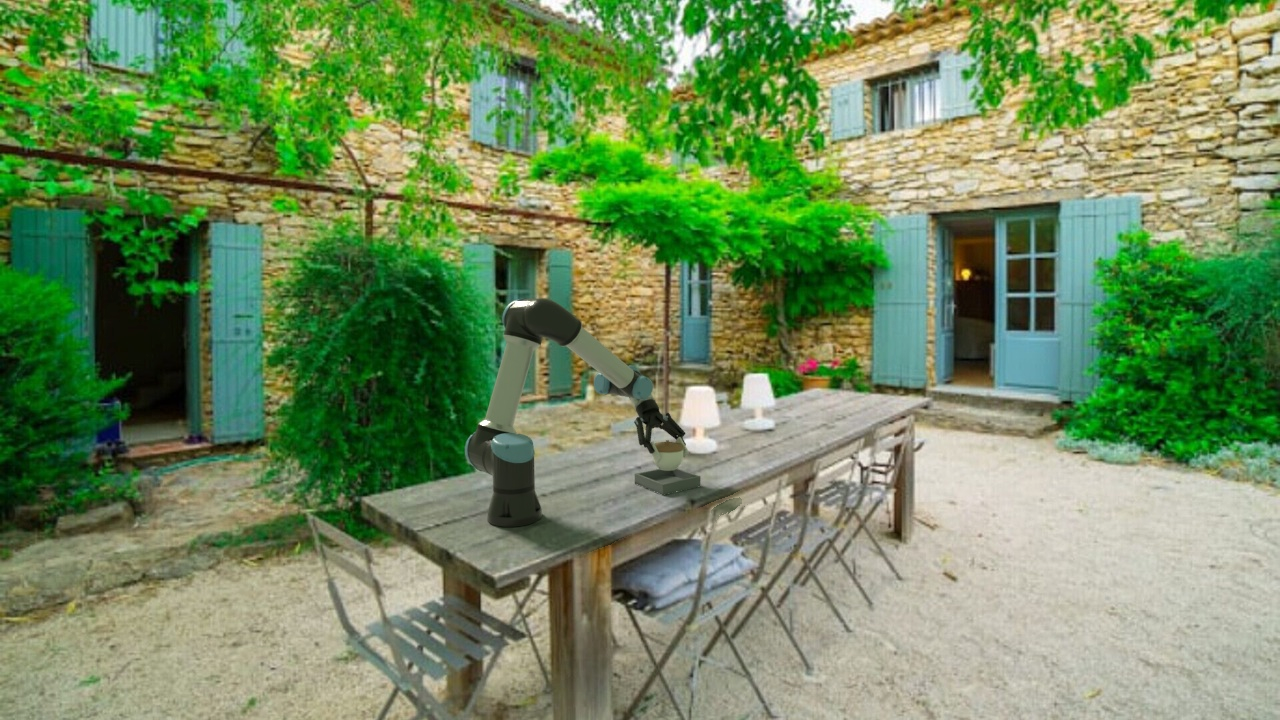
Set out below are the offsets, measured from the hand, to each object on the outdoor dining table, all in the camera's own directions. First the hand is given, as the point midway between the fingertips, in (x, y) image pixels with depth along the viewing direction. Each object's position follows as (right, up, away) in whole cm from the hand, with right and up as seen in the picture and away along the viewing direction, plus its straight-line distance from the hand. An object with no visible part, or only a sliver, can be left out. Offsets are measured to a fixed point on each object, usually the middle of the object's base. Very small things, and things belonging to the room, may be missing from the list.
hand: (673, 457), depth 205 cm
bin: (-2, -10, +3) cm, 10 cm away
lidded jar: (-2, -4, +3) cm, 5 cm away
